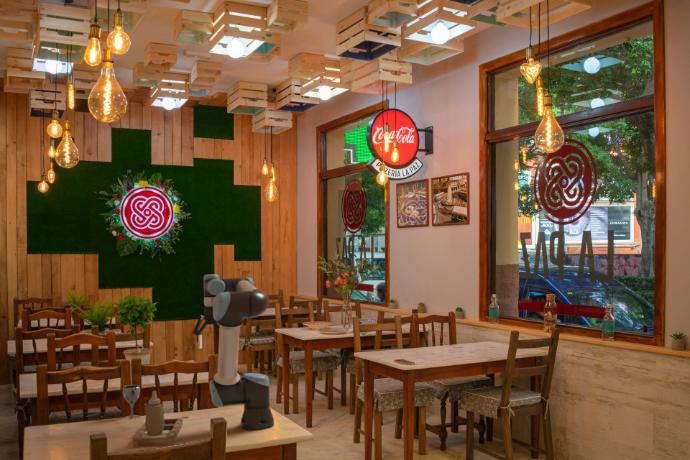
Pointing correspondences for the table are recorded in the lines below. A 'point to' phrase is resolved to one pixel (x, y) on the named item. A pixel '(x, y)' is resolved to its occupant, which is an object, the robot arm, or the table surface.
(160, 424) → the squeeze bottle
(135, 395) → the wine glass
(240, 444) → the table surface
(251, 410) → the robot arm
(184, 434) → the table surface
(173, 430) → the board
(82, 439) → the table surface
